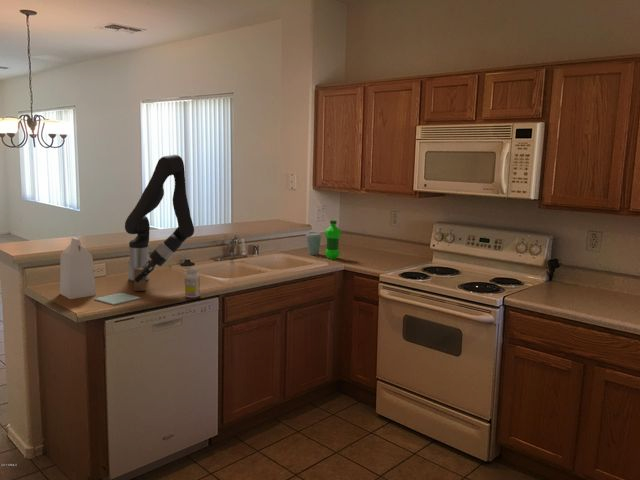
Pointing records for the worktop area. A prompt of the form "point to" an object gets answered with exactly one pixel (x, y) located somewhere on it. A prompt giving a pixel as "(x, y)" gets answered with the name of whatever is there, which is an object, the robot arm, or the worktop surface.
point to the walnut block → (142, 283)
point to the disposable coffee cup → (313, 242)
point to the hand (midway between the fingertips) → (135, 279)
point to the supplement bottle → (192, 283)
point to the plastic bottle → (332, 240)
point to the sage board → (117, 298)
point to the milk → (76, 271)
